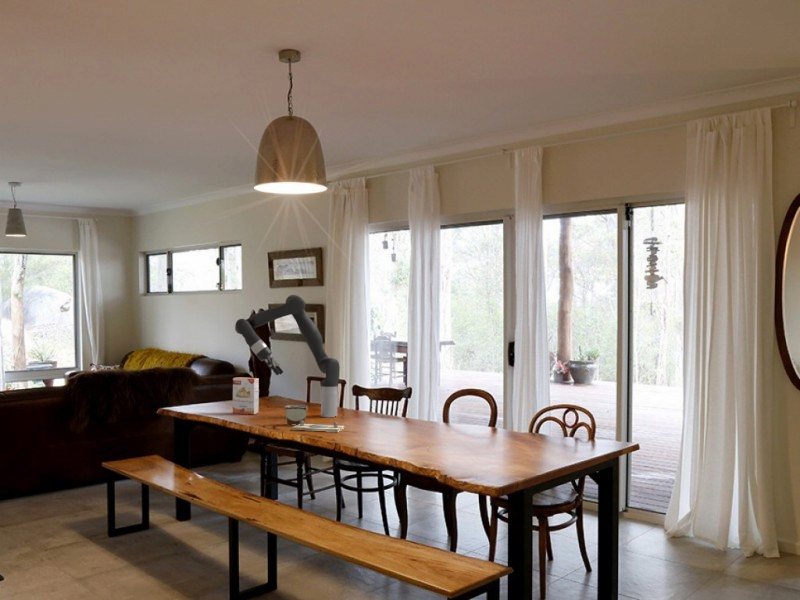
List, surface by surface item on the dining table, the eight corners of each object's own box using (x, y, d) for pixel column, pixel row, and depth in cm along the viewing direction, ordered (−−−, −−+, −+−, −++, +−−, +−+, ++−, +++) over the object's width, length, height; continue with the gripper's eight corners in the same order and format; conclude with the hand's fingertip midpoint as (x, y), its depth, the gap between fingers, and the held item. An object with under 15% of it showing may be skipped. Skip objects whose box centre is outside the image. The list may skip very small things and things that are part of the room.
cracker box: (232, 413, 395) (232, 377, 396) (237, 412, 401) (237, 376, 402) (253, 415, 391) (254, 378, 392) (258, 413, 397) (259, 377, 397)
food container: (309, 423, 364) (310, 404, 364) (307, 425, 357) (307, 406, 358) (287, 423, 365) (287, 404, 365) (284, 425, 359) (284, 406, 359)
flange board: (300, 426, 354) (300, 418, 354) (344, 428, 349) (344, 420, 349) (291, 430, 343) (292, 422, 343) (337, 432, 338) (337, 424, 338)
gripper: (263, 346, 355) (283, 370, 355) (269, 345, 370) (288, 368, 369) (252, 355, 355) (272, 379, 354) (259, 354, 370) (277, 377, 369)
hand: (280, 373), depth 362 cm, fingers open, 8 cm apart
